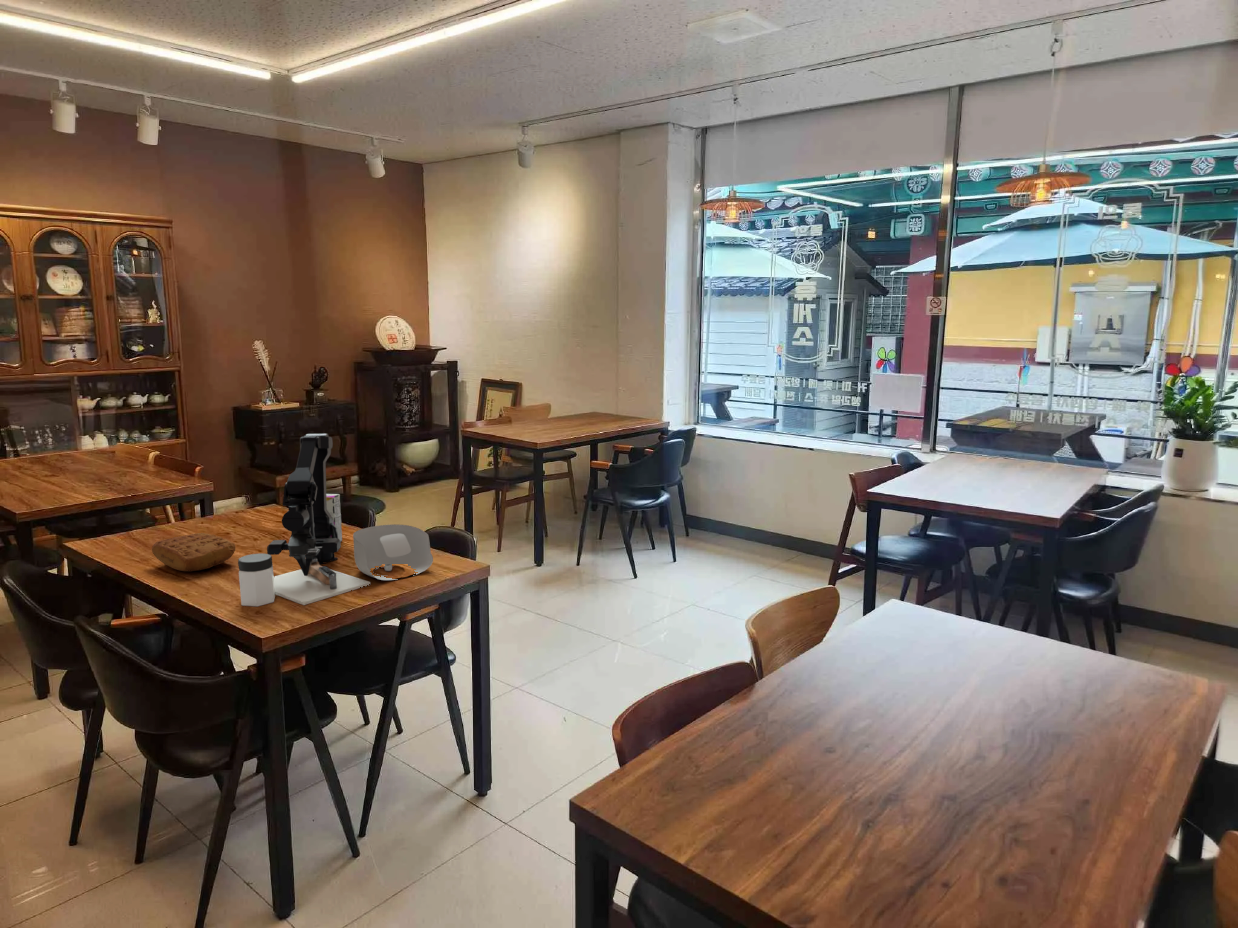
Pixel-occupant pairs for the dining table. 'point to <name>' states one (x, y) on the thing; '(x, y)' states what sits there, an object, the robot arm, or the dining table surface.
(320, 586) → the hinge board
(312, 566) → the link
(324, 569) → the keeper
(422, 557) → the gray curved shell
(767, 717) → the dining table surface
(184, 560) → the inscribed clay slab
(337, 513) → the candy bar box
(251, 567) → the jar
